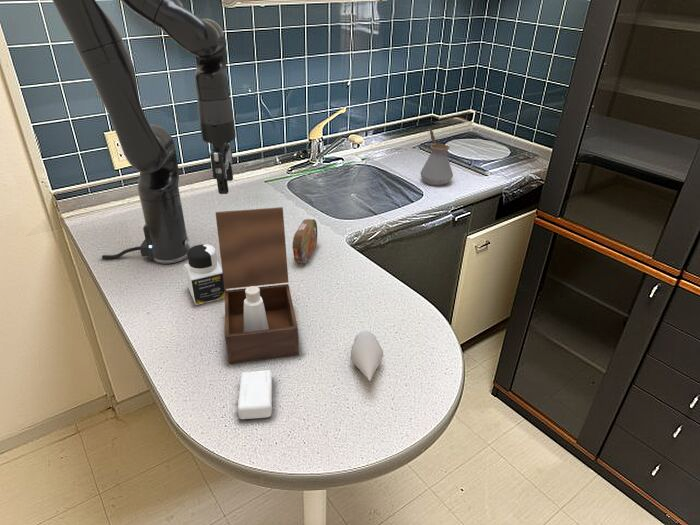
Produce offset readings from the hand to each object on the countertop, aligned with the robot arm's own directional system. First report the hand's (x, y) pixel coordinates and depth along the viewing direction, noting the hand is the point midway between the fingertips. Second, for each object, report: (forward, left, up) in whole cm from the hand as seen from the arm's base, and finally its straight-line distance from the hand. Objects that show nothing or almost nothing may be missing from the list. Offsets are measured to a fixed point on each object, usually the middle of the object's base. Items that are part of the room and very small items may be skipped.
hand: (226, 186), depth 118 cm
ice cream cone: (+31, -43, -20) cm, 57 cm away
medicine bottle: (-4, -17, -20) cm, 26 cm away
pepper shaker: (+10, -33, -19) cm, 39 cm away
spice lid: (+9, -23, -4) cm, 25 cm away
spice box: (+10, -32, -20) cm, 39 cm away
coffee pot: (+63, +58, -20) cm, 88 cm away
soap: (+11, -50, -20) cm, 55 cm away
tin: (+18, +1, -20) cm, 27 cm away
